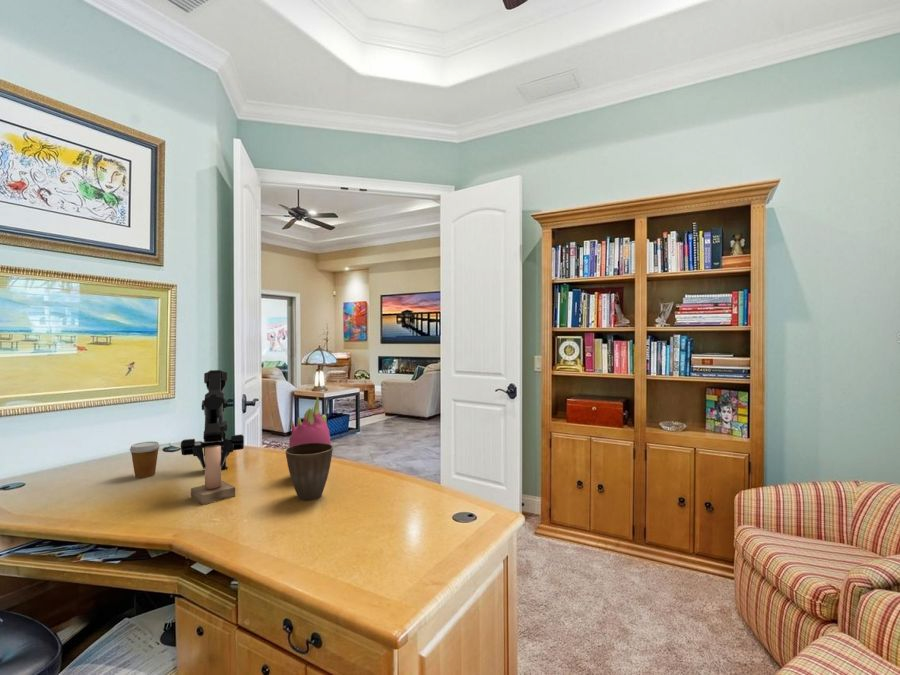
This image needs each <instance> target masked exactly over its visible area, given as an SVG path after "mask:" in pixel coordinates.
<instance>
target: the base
mask: <svg viewBox="0 0 900 675" xmlns="http://www.w3.org/2000/svg"><path fill="white" fill-rule="evenodd" d="M232 496H234V497H236V487H235V486H234V485H232V484H230V483H228V482H226V481H224V480H221V486H220V487H217V488H213V489H206V488H205V484H203V485H199V486H195V487H191V488H190V498H191V499H193V500H194V501H196V502H198V503H199V504H200V505H202V506H203V504H204V505H207V503H208V504H210V503H211V502H212V503H215V502H214V501H216V502H218V500H219V501H222V500H221V499H223V500H226V499H225V498H227V499H230V498H233V497H232ZM229 497H230V498H229Z"/></svg>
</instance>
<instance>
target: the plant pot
mask: <svg viewBox="0 0 900 675" xmlns="http://www.w3.org/2000/svg"><path fill="white" fill-rule="evenodd" d="M333 450H334V446H333V445H332V444H331V445H330V444H326V443H306V444H299V445H295V446H292V447H289V446H288V447H287V448H286V449H285V456H286V462H287V468H288V472H289V476H290V479H291V482H292V485H293V488H294V491H295V493H296V495H297V498H298V499H299V500H301V501H313V500H317V499H319V498H321V497H322V495H323V492H324V489H325V486H326V484H327V481H328V477H329V473H330V472H329V471H330V467H331V463H332V457H333Z"/></svg>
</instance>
